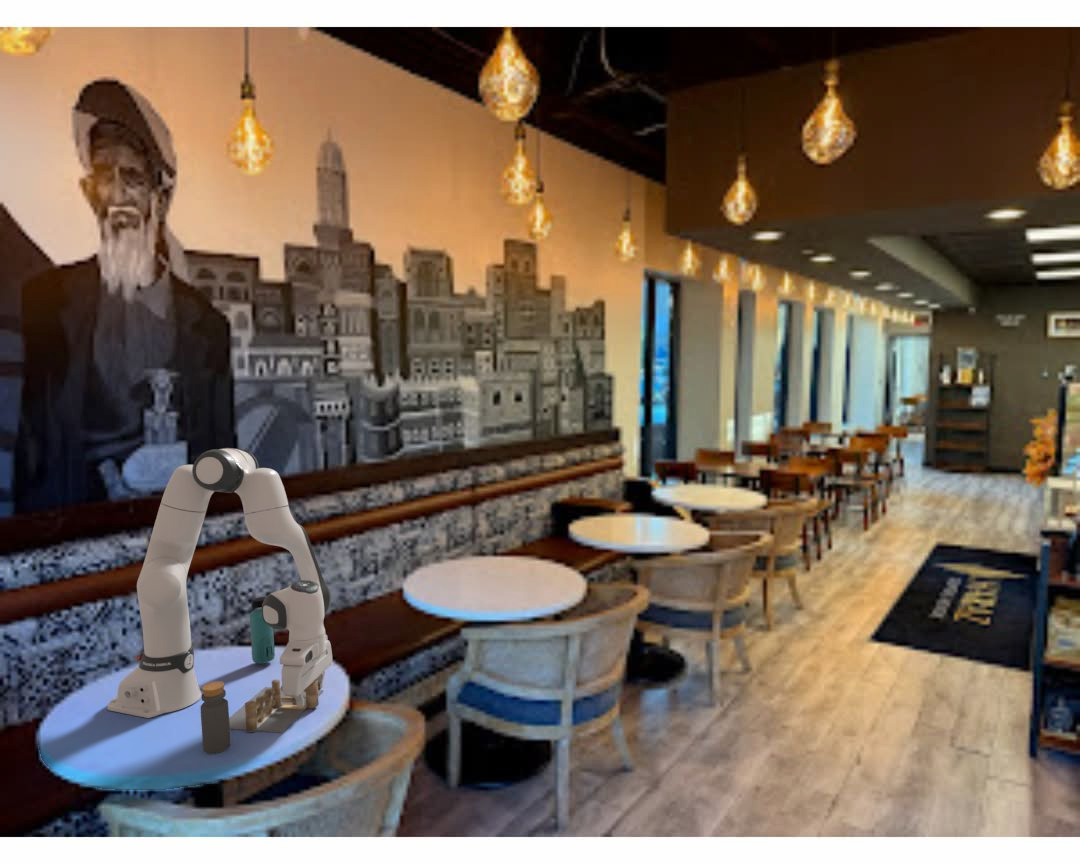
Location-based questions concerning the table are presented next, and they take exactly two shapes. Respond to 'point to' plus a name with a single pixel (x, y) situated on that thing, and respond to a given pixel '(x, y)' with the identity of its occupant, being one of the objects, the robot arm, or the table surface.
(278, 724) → the card
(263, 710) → the fence fixed
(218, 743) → the bottle
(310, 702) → the fence gate
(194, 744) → the table surface
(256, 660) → the beverage bottle
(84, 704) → the table surface
